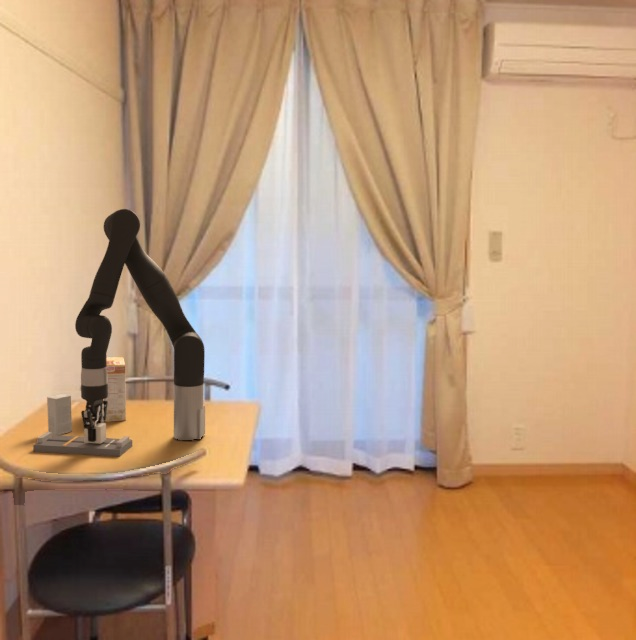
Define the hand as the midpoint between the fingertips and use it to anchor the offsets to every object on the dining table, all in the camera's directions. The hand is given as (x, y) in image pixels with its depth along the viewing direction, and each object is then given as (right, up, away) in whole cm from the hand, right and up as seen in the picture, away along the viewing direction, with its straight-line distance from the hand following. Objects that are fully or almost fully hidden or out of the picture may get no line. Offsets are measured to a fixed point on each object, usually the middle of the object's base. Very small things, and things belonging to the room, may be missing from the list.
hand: (95, 438), depth 209 cm
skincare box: (-16, -1, +16) cm, 23 cm away
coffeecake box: (-5, +1, +38) cm, 38 cm away
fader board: (-4, -3, +1) cm, 5 cm away
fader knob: (0, -1, 0) cm, 1 cm away
